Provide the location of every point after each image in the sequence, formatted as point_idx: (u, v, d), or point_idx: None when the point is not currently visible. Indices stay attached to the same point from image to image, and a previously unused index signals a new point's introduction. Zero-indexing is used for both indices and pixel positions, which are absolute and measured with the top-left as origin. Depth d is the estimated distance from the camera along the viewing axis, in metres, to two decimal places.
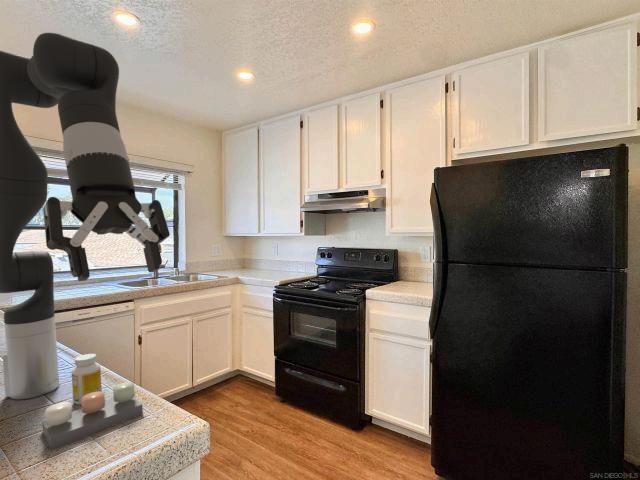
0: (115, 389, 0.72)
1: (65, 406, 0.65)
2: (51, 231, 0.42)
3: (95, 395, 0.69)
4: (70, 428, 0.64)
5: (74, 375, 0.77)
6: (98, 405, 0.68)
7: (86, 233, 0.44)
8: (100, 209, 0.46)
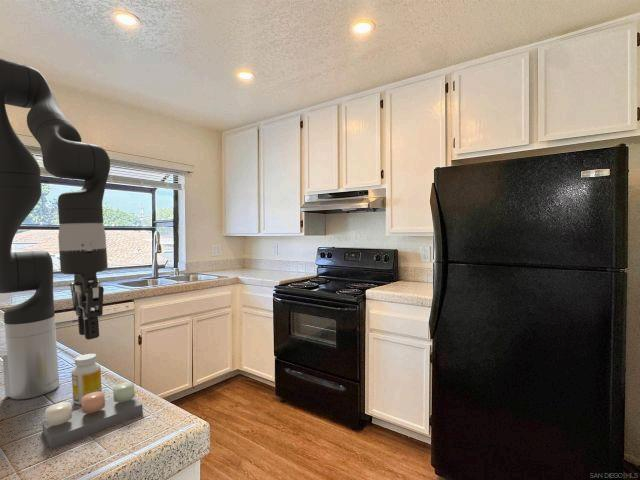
0: (115, 389, 0.72)
1: (65, 406, 0.65)
2: (102, 309, 0.66)
3: (95, 395, 0.69)
4: (70, 428, 0.64)
5: (74, 375, 0.77)
6: (98, 405, 0.68)
7: None
8: (99, 287, 0.69)
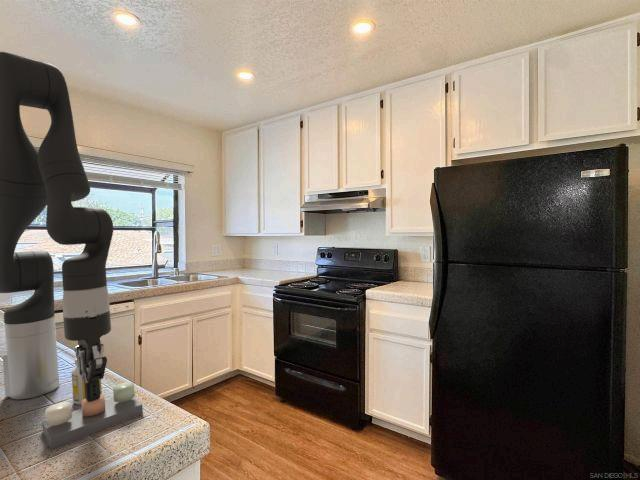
0: (115, 389, 0.72)
1: (65, 406, 0.65)
2: (103, 374, 0.67)
3: None
4: (70, 428, 0.64)
5: (74, 375, 0.77)
6: (98, 408, 0.68)
7: None
8: None
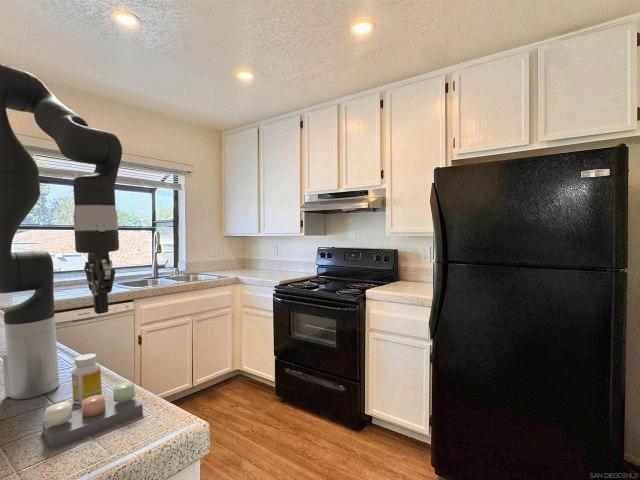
0: (115, 389, 0.72)
1: (65, 406, 0.65)
2: (111, 288, 0.71)
3: (95, 398, 0.69)
4: (70, 428, 0.64)
5: (74, 375, 0.77)
6: (98, 409, 0.68)
7: None
8: None
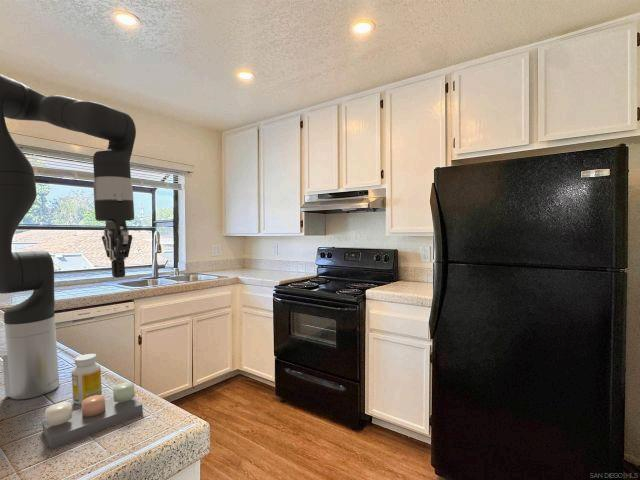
0: (115, 389, 0.72)
1: (65, 406, 0.65)
2: (128, 253, 0.77)
3: (95, 398, 0.69)
4: (70, 428, 0.64)
5: (74, 375, 0.77)
6: (98, 409, 0.68)
7: (124, 249, 0.79)
8: None
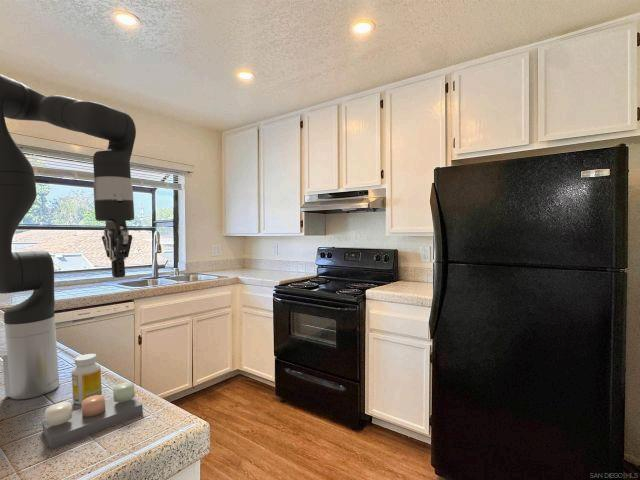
0: (115, 389, 0.72)
1: (65, 406, 0.65)
2: (128, 253, 0.77)
3: (95, 398, 0.69)
4: (70, 428, 0.64)
5: (74, 375, 0.77)
6: (98, 409, 0.68)
7: (124, 249, 0.79)
8: None
